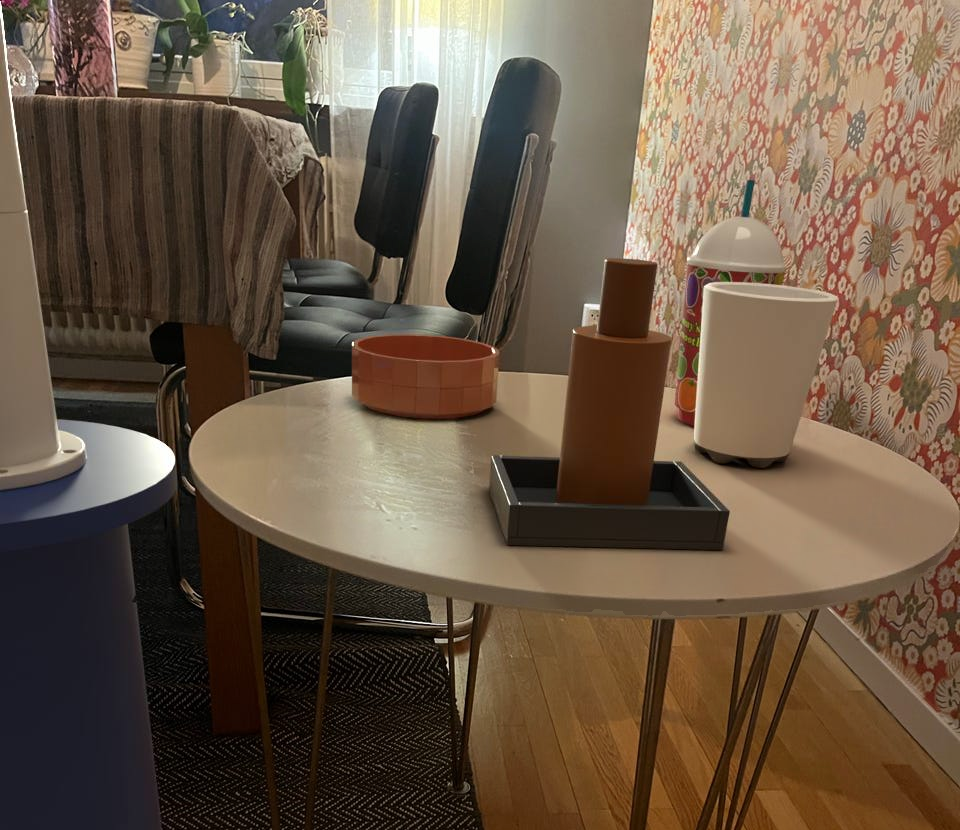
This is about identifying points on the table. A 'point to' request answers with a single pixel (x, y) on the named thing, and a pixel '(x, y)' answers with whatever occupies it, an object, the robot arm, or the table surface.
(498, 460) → the tray
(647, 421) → the bottle
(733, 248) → the smoothie
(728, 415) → the cup
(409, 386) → the bowl
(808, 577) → the table surface
